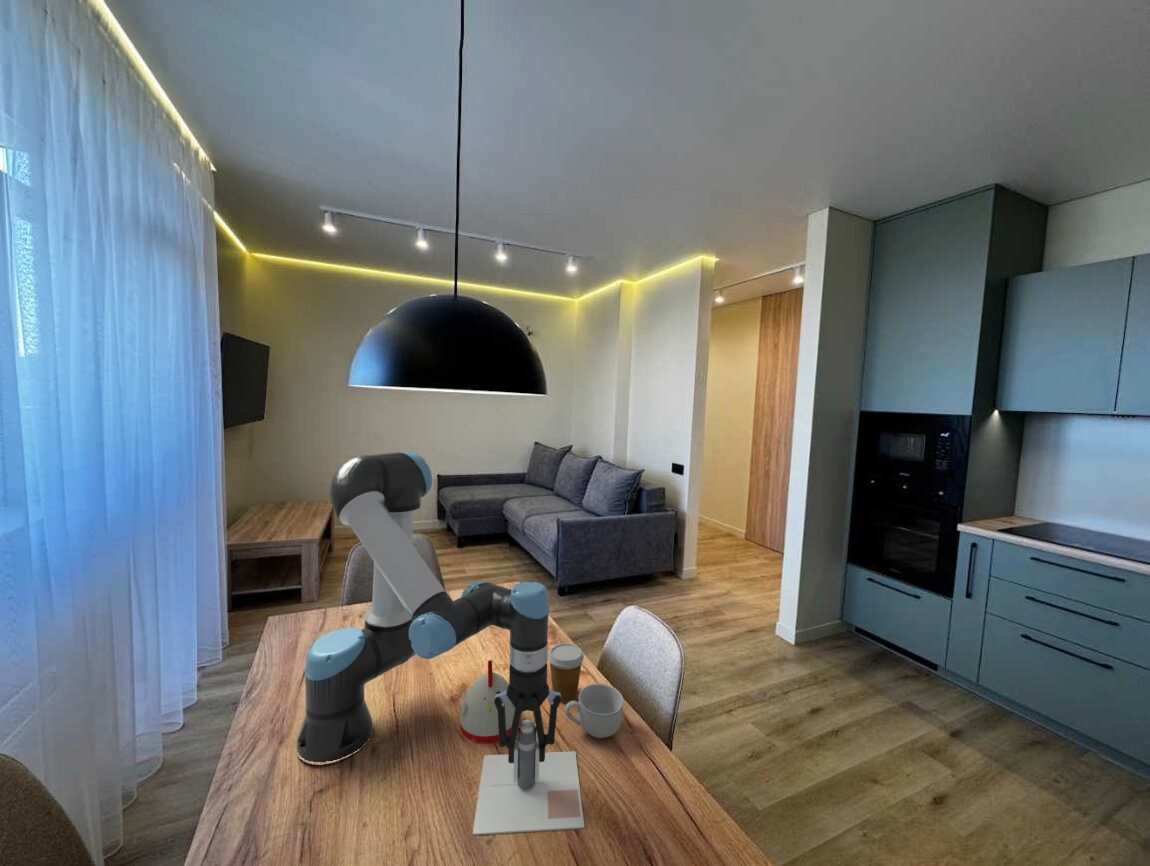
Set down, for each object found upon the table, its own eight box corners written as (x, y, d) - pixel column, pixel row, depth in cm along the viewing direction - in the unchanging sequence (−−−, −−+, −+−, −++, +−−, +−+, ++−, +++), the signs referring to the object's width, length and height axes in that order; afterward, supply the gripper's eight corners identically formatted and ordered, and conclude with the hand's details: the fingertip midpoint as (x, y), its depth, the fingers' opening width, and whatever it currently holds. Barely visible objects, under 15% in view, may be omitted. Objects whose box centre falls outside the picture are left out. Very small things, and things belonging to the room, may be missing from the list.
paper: (472, 835, 79) (472, 833, 79) (484, 756, 97) (484, 755, 97) (584, 828, 81) (584, 826, 81) (575, 752, 99) (575, 751, 99)
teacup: (619, 714, 112) (620, 683, 111) (625, 746, 101) (626, 712, 101) (564, 714, 111) (564, 683, 111) (564, 746, 100) (565, 712, 100)
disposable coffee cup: (579, 709, 113) (580, 664, 112) (542, 704, 115) (543, 659, 114) (585, 687, 122) (586, 644, 122) (552, 682, 124) (552, 640, 124)
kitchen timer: (458, 747, 100) (459, 682, 99) (461, 707, 113) (461, 649, 112) (520, 738, 103) (521, 675, 102) (515, 700, 116) (516, 644, 115)
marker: (516, 790, 88) (517, 731, 87) (517, 774, 91) (518, 718, 91) (535, 789, 88) (536, 730, 87) (535, 774, 92) (536, 717, 91)
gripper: (484, 675, 84) (482, 793, 85) (571, 673, 86) (568, 789, 87) (488, 653, 92) (487, 762, 93) (568, 652, 93) (566, 759, 94)
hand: (526, 775), depth 90 cm, fingers closed on marker, 3 cm apart
